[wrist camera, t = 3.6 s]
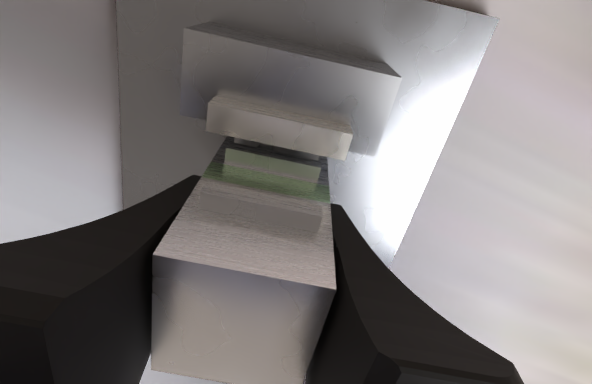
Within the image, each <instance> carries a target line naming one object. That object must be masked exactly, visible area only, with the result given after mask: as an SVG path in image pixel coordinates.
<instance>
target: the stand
mask: <svg viewBox="0 0 592 384" xmlns="http://www.w3.org/2000/svg"><path fill="white" fill-rule="evenodd" d="M116 19H117V46H118V74H119V101H120V129H121V156H122V184H123V210H124V209H127V208H129V207H131V206H133V205H135V204H137V203H140V202H142V201H144V200H146V199H148V198H150V197H152V196H154V195H156V194H158V193H160V192H162V191H164V190H166V189H168V188H169V187H171V186H173V185H175V184H177V183H178V182H180V181H182V180H184V179H186V178H188V177H189V176H191V175H198V176H202V175H203V174H204V172H205V170H206V169H207V167H208V166H209V164H210V162H211V161H212V159H213V158H214V156H215V154H216V153H217V151H218V150H219V148H220V147H221V145H222V143H223V142H224V140H225V139H226V137H227V136H231V137H236V138H240V139H245V140H250V141H254V142H259V143H264V144H268V145H273V146H278V147H282V148H287V149H292V150H296V151H301V152H306V153H311V154H315V155H320V156H325V157H327V162H328V176H329V191H330V203H333V204H338V205H341V206H342V207H343V209H344V210H345V212H346V213H347V215H348V216H349V218H350V219H351V221H352V222H353V224H354V225H355V227H356V228H357V230H358V231H359V233H360V234H361V235H362V237H363V238H364V239H365V241H366V242H367V243H368V245H369V246H370V247H371V249H372V250H373V251H374V252H375V254H376V255H377V256H378V257H379V258H380V259H381V261H382V262H383V263H384V264H385V265H386V266H387V267H388V269H389V268H390V265H391V263H392V261H393V259H394V256H395V254H396V252H397V250H398V247H399V245H400V243H401V241H402V238H403V236H404V234H405V232H406V229H407V227H408V225H409V222H410V220H411V218H412V216H413V213H414V211H415V209H416V207H417V204H418V202H419V200H420V198H421V195H422V193H423V191H424V189H425V186H426V184H427V182H428V180H429V177H430V175H431V173H432V171H433V168H434V166H435V164H436V162H437V159H438V157H439V155H440V152H441V150H442V148H443V146H444V143H445V141H446V139H447V137H448V134H449V132H450V130H451V128H452V125H453V123H454V121H455V119H456V116H457V114H458V112H459V110H460V107H461V105H462V103H463V101H464V98H465V96H466V94H467V92H468V89H469V87H470V85H471V82H472V80H473V78H474V76H475V73H476V71H477V69H478V67H479V64H480V62H481V60H482V58H483V55H484V53H485V51H486V49H487V46H488V44H489V42H490V40H491V37H492V35H493V33H494V31H495V28H496V26H497V24H498V22H499V19H500V18H496V17H491V16H487V15H483V14H479V13H475V12H471V11H467V10H463V9H459V8H454V7H450V6H446V5H442V4H438V3H434V2H430V1H426V0H116Z"/></svg>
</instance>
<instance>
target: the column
mask: <svg viewBox="0 0 592 384" xmlns="http://www.w3.org/2000/svg"><path fill="white" fill-rule="evenodd" d="M335 292H336V277H335V263H334V248H333V234H332V219H331V205H330V191H329V176H328V162H327V157H325V156H320V155H315V154H311V153H306V152H301V151H296V150H292V149H287V148H282V147H278V146H273V145H268V144H264V143H259V142H254V141H250V140H245V139H240V138H236V137H231V136H227V137H226V139H225V140H224V142H223V143H222V145H221V147H220V148H219V150H218V151H217V153H216V154H215V156H214V158H213V159H212V161H211V162H210V164H209V166H208V167H207V169H206V170H205V172H204V174H203V175H202V177H201V178H200V180H199V181H198V183H197V185H196V186H195V188H194V189H193V191H192V193H191V194H190V196H189V197H188V199H187V201H186V202H185V204H184V205H183V207H182V209H181V210H180V212H179V213H178V215H177V216H176V218H175V220H174V221H173V223H172V224H171V226H170V228H169V229H168V231H167V232H166V234H165V236H164V237H163V239H162V240H161V242H160V243H159V245H158V247H157V248H156V250H155V251H154V253H153V259H152V340H151V370H155V371H160V372H166V373H172V374H178V375H184V376H189V377H195V378H201V379H207V380H212V381H218V382H224V383H230V384H303V381H304V378H305V375H306V373H307V370H308V367H309V364H310V362H311V359H312V356H313V353H314V350H315V348H316V345H317V342H318V339H319V337H320V334H321V331H322V328H323V325H324V323H325V320H326V317H327V314H328V312H329V309H330V306H331V303H332V301H333V298H334V295H335Z"/></svg>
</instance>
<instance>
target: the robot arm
mask: <svg viewBox="0 0 592 384" xmlns="http://www.w3.org/2000/svg"><path fill="white" fill-rule="evenodd" d="M201 177H202V176H198V175H191V176H189V177H188V178H186V179H184V180H182V181H180V182H178V183H177V184H175V185H173V186H171V187H169V188H168V189H166V190H164V191H162V192H160V193H158V194H156V195H154V196H152V197H150V198H148V199H146V200H144V201H142V202H140V203H137V204H135V205H133V206H131V207H129V208H127V209H124V210H122V211H120V212H117V213H115V214H112V215H109V216H107V217H104V218H101V219H98V220H95V221H92V222H89V223H86V224H83V225H79V226H76V227H72V228H68V229H65V230H61V231H58V232H54V233H50V234H46V235H42V236H37V237H33V238H28V239H24V240H18V241H13V242H8V243H3V244H0V384H139V382H140V379H141V377H142V374H143V371H144V369H145V366H146V364H147V361H148V358H149V356H150V353H151V340H152V259H153V253H154V251H155V250H156V248H157V247H158V245H159V243H160V242H161V240H162V239H163V237H164V236H165V234H166V232H167V231H168V229H169V228H170V226H171V224H172V223H173V221H174V220H175V218H176V216H177V215H178V213H179V212H180V210H181V209H182V207H183V205H184V204H185V202H186V201H187V199H188V197H189V196H190V194H191V193H192V191H193V189H194V188H195V186H196V185H197V183H198V181H199V180H200V178H201ZM330 205H331V219H332V234H333V248H334V263H335V277H336V292H335V295H334V298H333V301H332V303H331V306H330V309H329V312H328V314H327V317H326V320H325V323H324V325H323V328H322V331H321V334H320V337H319V339H318V342H317V345H316V348H315V350H314V353H313V356H312V359H311V362H310V364H309V367H308V370H307V373H306V384H524V383H523V381H522V379H521V377H520V375H519V373H518V371H517V370H516V368H515V366H514V364H513V363H512V362H510V361H509V360H507V359H505V358H504V357H502V356H500V355H499V354H497V353H496V352H494V351H492V350H491V349H489V348H488V347H486V346H484V345H483V344H481V343H480V342H478V341H476V340H475V339H473V338H472V337H470V336H469V335H467V334H466V333H464V332H463V331H461V330H460V329H459V328H457V327H456V326H454V325H453V324H452V323H450V322H449V321H447V320H446V319H445V318H443V317H442V316H441V315H439V314H438V313H437V312H436V311H434V310H433V309H432V308H431V307H429V306H428V305H427V304H426V303H425V302H423V301H422V300H421V299H420V298H419V297H417V296H416V295H415V294H414V293H413V292H412V291H411V290H410V289H408V288H407V287H406V286H405V285H404V284H403V283H402V282H401V281H400V280H399V279H398V278H397V277H396V276H395V275H394V274H393V273H392V272H391V271H390V270H389V269H388V267H387V266H386V265H385V264H384V263H383V262H382V261H381V259H380V258H379V257H378V256H377V255H376V254H375V252H374V251H373V250H372V249H371V247H370V246H369V245H368V243H367V242H366V241H365V239H364V238H363V237H362V235H361V234H360V233H359V231H358V230H357V228H356V227H355V225H354V224H353V222H352V221H351V219H350V218H349V216H348V215H347V213H346V212H345V210H344V209H343V207H342V206H341V205H338V204H333V203H330Z"/></svg>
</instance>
